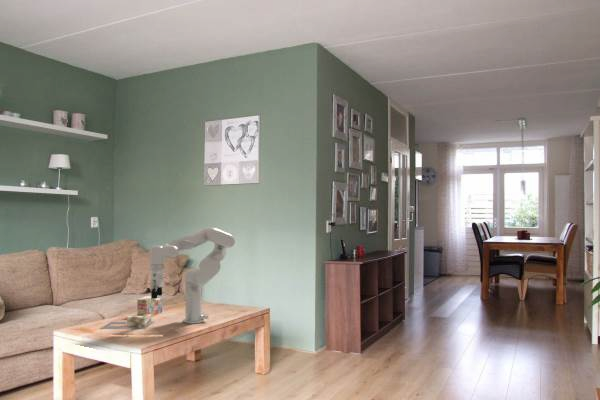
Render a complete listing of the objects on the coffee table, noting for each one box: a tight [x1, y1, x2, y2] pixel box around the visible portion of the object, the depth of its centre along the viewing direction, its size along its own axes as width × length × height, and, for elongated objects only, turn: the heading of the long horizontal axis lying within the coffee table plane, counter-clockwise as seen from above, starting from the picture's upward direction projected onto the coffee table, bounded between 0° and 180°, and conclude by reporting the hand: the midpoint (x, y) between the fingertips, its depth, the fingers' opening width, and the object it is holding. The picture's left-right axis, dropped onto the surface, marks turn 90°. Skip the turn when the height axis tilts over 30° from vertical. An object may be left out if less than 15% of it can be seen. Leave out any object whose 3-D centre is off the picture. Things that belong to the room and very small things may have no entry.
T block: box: [126, 314, 152, 328], centre depth 288 cm, size 12×12×5 cm
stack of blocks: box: [136, 295, 163, 318], centre depth 320 cm, size 21×6×12 cm, turn 169°
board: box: [99, 321, 155, 330], centre depth 288 cm, size 26×18×1 cm
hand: (156, 296), depth 288 cm, fingers open, 9 cm apart
